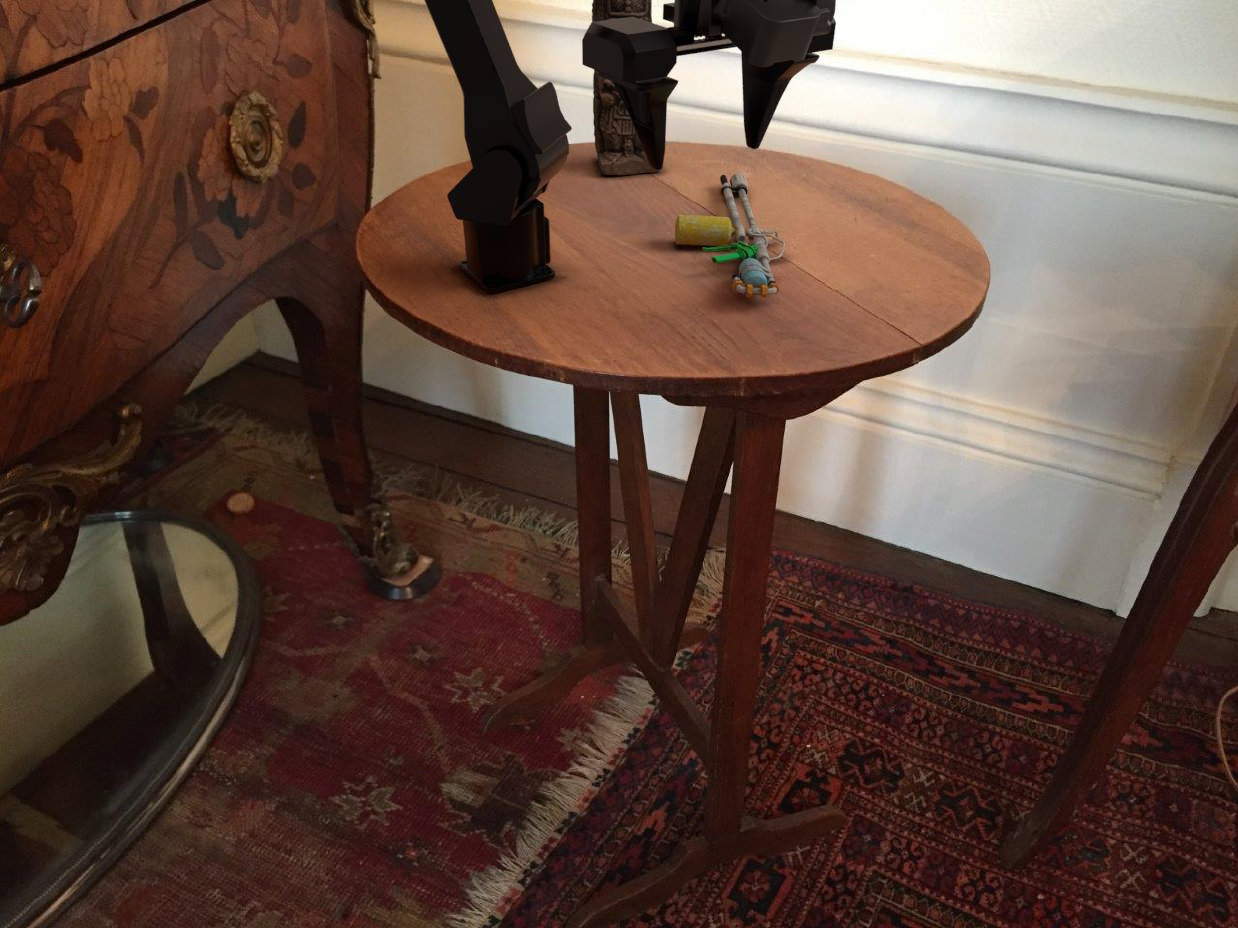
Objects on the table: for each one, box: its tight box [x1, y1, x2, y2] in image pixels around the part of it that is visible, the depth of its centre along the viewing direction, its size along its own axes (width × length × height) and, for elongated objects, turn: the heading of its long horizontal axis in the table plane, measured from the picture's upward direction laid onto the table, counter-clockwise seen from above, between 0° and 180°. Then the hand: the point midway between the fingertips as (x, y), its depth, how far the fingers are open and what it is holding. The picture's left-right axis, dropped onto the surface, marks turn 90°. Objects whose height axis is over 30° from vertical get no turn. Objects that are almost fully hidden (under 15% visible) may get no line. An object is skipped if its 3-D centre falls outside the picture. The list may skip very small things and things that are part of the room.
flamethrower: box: [674, 172, 786, 299], centre depth 90 cm, size 29×3×10 cm
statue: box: [591, 0, 661, 176], centre depth 102 cm, size 7×7×20 cm
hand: (705, 158), depth 73 cm, fingers open, 9 cm apart
